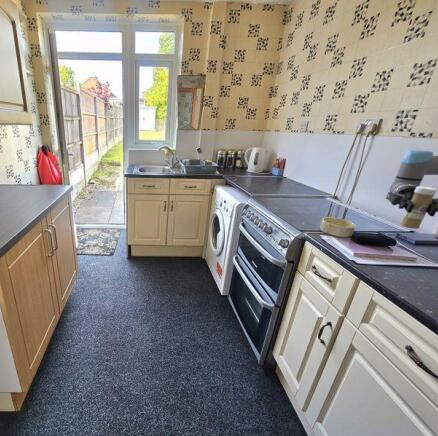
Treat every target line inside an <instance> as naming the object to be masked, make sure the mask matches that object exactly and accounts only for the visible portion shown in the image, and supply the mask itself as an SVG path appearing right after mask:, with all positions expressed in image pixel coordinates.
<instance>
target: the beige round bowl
mask: <svg viewBox="0 0 438 436" xmlns="http://www.w3.org/2000/svg"><path fill="white" fill-rule="evenodd" d="M356 226H357V225H356V224H355V223H354V222H352V221H349V220H347V219H343V218H338V217H332V216H331V217H329V216H326V217H323V218H321V221H320V224H319V230H320V231H321V232H322V233H324V234H327V235H328V236H332V237H337V238H350V237H352V236H353V235H354V233H355V229H356ZM352 234H353V235H352Z"/></svg>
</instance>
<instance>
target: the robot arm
mask: <svg viewBox="0 0 438 436" xmlns="http://www.w3.org/2000/svg"><path fill="white" fill-rule="evenodd" d="M425 176H438V155H434V152H433V151H431V150H421V149H420V150H419V149H409V150H407V151H406V152H405V154H404V156H403V158H402V159H401V163H400V165H399V168H398V171H397V173H396V176H395V178H394V181H393V182H392V183H391V184H390V187H389V191H388V192H387V195H386V197H385V199H386V200H388V201H389V202H390V204H391V205H392V206H397V205H398V207H397V208H398V209H400V210H403V209H404V210H405V212H406V211H407V212H408V213H411V211H412V209H413V207H414V204H413V203H412V202H411V200H412V198H413V195H414V191H415V189H416V187H418V186H421V183H422V181H423V179H424V177H425ZM436 213H438V198H437V197H435V198H432V200H431V203H430V205H429V207H428V209H427V212H426V214H428V216H429V217H435V215H436Z"/></svg>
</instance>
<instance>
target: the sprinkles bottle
mask: <svg viewBox="0 0 438 436" xmlns="http://www.w3.org/2000/svg"><path fill="white" fill-rule="evenodd" d="M437 191H438V189H437V188H434V187H429V186H422V185H420V186H418V187H416V189H415V191H414V195H413V198H412V200H411V202H412V203H413V204H414V207H413V209H412V211H411V213H408V212H407V211H406V210H405V213H404V216H403V219H402V221H401V223H400V225H401V226H402V227H404V228H407V229H414V230H418V229H420V226H421V224H422V222H423V220H424V218H425V216H426V214H427V209H428V207H429V205H430V203H431V200H432V199H434V197H435V195H436V194H437Z"/></svg>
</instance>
